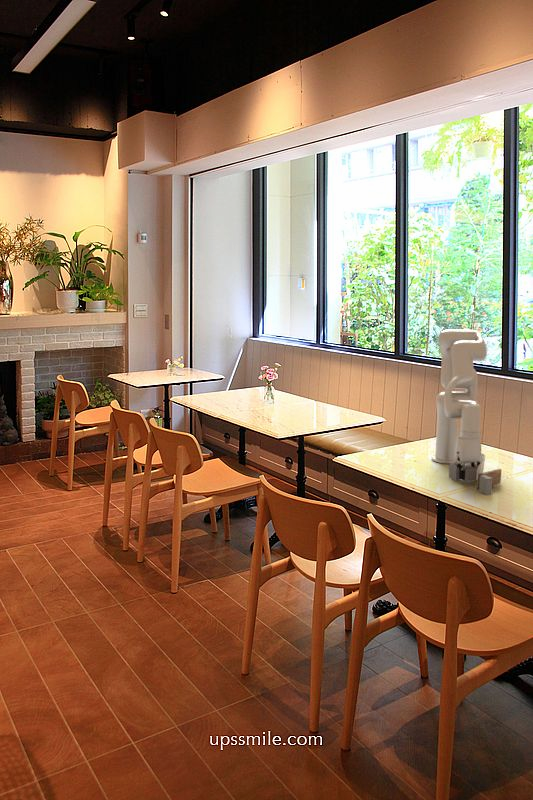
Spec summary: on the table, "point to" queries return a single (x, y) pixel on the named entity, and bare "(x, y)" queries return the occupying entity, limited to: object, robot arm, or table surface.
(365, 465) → the table surface
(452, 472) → the block
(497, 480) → the door
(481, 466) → the white cup
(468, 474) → the grey rectangular block
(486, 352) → the robot arm
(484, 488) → the hinge jamb
